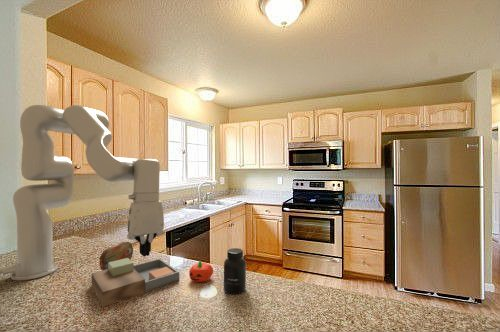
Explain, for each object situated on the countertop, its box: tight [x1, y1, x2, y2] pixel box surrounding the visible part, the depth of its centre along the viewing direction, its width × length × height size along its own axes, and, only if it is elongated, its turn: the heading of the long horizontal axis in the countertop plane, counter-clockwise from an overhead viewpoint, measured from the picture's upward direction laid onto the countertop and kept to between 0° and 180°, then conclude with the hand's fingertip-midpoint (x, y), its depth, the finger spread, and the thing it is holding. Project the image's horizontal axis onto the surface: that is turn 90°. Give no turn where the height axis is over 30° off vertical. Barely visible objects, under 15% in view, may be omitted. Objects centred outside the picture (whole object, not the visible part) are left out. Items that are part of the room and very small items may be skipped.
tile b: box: [108, 258, 135, 276], centre depth 79 cm, size 6×6×2 cm
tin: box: [99, 241, 134, 271], centre depth 92 cm, size 15×3×8 cm, turn 169°
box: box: [134, 258, 180, 293], centre depth 82 cm, size 11×16×3 cm
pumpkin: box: [188, 260, 214, 283], centre depth 81 cm, size 7×8×6 cm
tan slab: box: [91, 269, 146, 308], centre depth 75 cm, size 11×16×4 cm
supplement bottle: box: [223, 247, 247, 295], centre depth 74 cm, size 7×7×12 cm
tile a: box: [149, 267, 174, 280], centre depth 80 cm, size 6×6×2 cm
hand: (145, 254), depth 77 cm, fingers closed
